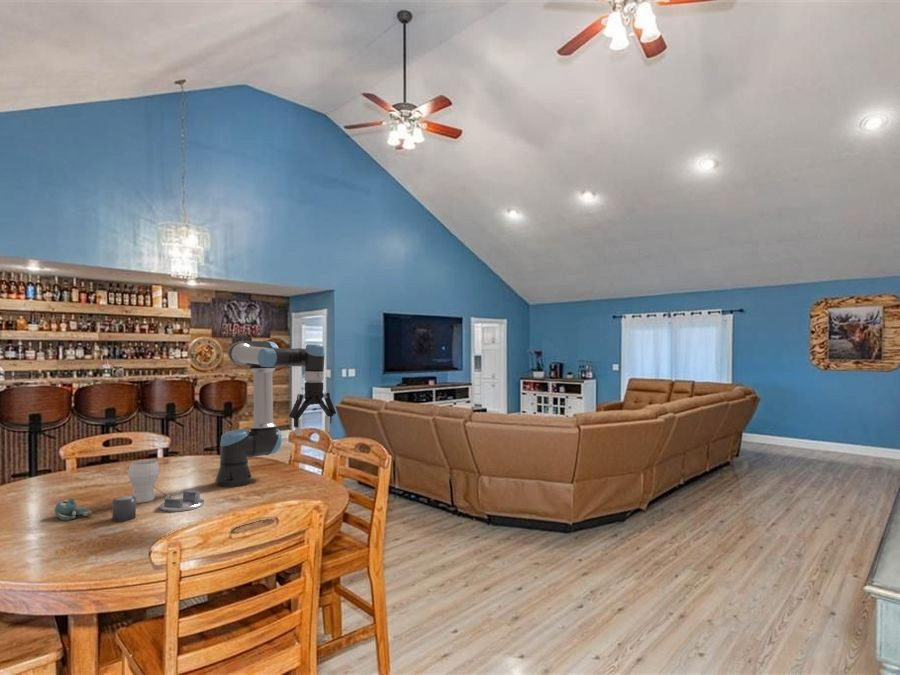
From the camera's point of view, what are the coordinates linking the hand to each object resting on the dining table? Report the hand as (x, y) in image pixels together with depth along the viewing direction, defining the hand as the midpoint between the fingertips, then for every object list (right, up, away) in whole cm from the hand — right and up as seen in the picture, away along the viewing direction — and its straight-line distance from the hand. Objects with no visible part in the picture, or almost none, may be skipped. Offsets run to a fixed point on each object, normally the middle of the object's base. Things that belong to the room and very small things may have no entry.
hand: (312, 433), depth 209 cm
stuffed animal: (-79, -25, -27) cm, 87 cm away
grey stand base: (-47, -26, -12) cm, 55 cm away
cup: (-66, -26, -6) cm, 71 cm away
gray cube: (-60, -25, -28) cm, 70 cm away
